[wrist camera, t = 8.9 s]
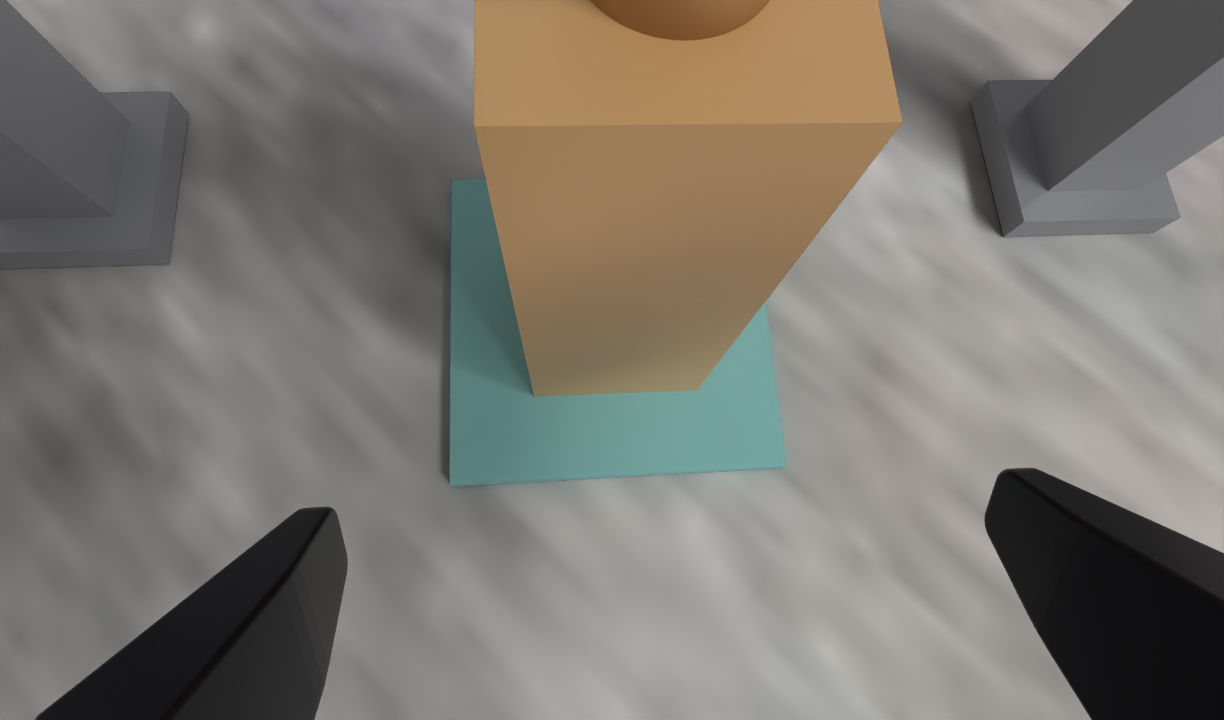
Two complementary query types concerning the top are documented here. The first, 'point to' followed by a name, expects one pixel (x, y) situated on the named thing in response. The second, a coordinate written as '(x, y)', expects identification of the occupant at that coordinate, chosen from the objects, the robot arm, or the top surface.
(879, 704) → the top surface
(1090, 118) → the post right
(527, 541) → the top surface
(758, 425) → the mat
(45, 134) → the post
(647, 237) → the bottle
